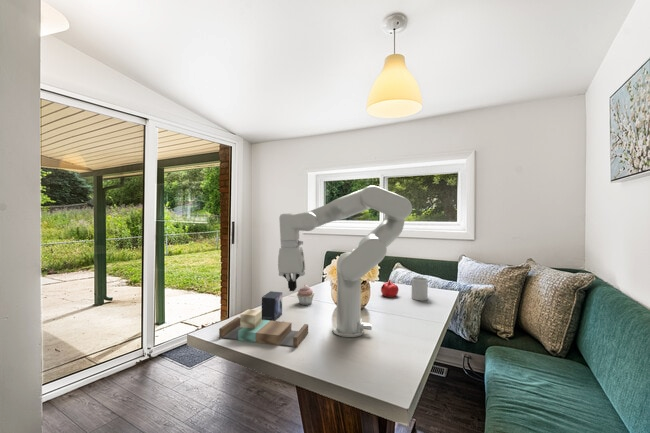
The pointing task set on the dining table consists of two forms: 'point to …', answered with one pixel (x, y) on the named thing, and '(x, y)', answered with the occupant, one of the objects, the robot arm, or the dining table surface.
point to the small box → (271, 306)
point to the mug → (419, 288)
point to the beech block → (251, 318)
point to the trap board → (265, 333)
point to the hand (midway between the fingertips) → (292, 290)
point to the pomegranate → (389, 289)
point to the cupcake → (305, 295)
